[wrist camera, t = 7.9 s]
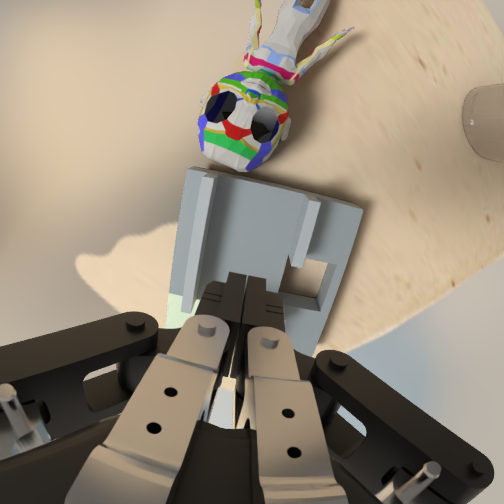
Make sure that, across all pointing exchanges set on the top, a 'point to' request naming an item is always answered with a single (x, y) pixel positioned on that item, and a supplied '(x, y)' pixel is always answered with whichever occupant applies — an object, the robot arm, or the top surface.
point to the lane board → (259, 245)
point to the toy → (260, 88)
